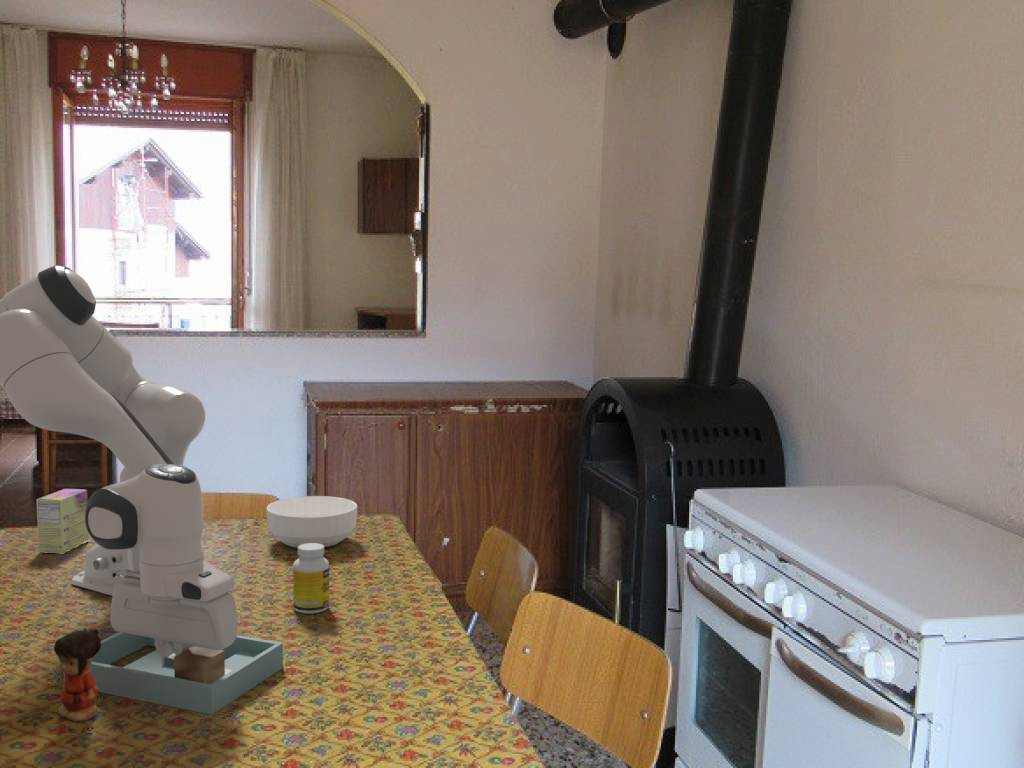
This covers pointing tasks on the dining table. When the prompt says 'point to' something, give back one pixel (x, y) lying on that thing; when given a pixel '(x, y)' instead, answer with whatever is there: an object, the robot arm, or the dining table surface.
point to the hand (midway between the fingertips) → (173, 667)
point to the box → (61, 520)
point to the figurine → (78, 674)
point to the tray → (158, 685)
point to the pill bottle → (311, 579)
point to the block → (200, 665)
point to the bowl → (311, 520)
